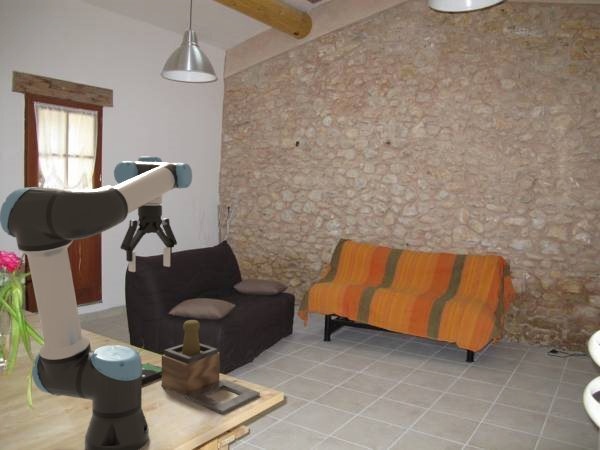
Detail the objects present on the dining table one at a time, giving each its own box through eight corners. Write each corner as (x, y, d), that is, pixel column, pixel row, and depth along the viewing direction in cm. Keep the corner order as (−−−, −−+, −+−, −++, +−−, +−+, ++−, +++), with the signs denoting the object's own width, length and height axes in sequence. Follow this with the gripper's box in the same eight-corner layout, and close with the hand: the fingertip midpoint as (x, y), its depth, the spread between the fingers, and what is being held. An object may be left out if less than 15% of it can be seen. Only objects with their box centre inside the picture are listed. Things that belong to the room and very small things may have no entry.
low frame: (222, 414, 140) (222, 410, 140) (185, 398, 149) (185, 394, 149) (259, 395, 153) (259, 392, 152) (223, 381, 162) (223, 378, 162)
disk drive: (130, 392, 154) (167, 376, 166) (130, 383, 154) (167, 368, 166) (110, 383, 160) (147, 369, 172) (110, 375, 159) (147, 361, 172)
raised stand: (186, 396, 151) (186, 359, 150) (161, 385, 158) (161, 350, 157) (219, 382, 162) (219, 348, 161) (195, 372, 169) (195, 340, 168)
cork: (190, 358, 155) (190, 324, 154) (177, 354, 158) (178, 320, 158) (204, 353, 160) (204, 320, 159) (192, 349, 163) (192, 317, 162)
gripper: (122, 205, 147) (122, 275, 149) (187, 204, 167) (187, 265, 169) (108, 204, 152) (109, 272, 154) (173, 203, 172) (173, 262, 174)
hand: (149, 268), depth 162 cm, fingers open, 13 cm apart
